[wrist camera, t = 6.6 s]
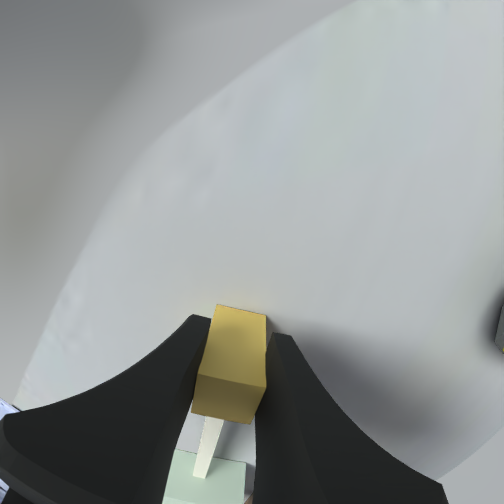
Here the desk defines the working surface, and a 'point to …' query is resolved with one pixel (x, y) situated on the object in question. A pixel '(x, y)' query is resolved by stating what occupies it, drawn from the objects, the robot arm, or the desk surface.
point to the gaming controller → (500, 332)
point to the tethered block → (221, 408)
